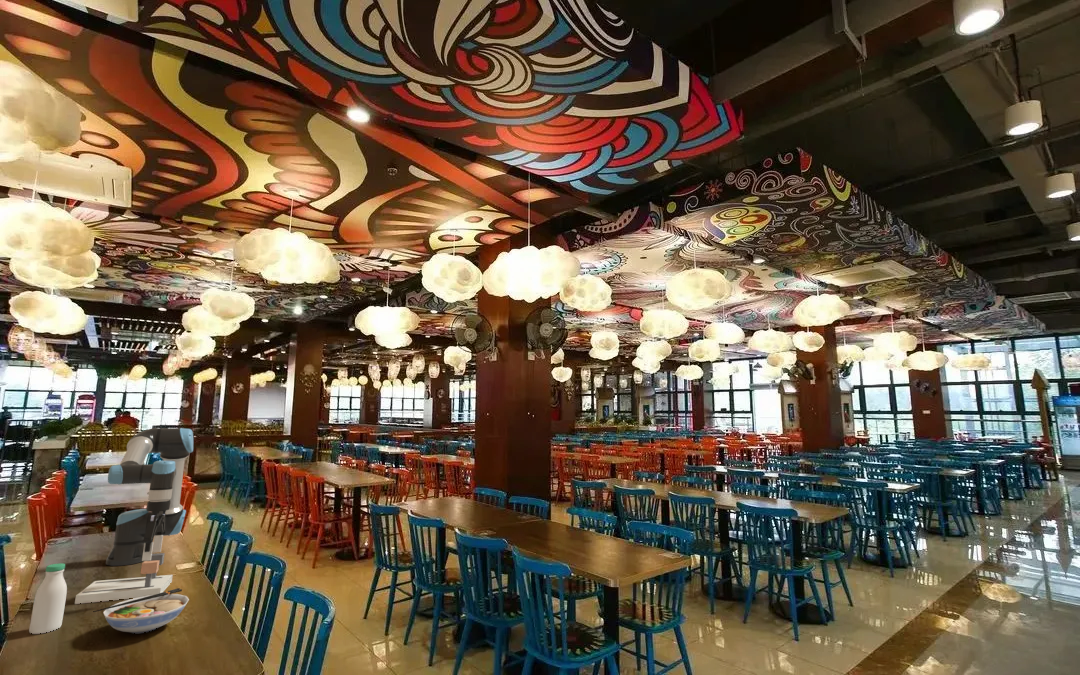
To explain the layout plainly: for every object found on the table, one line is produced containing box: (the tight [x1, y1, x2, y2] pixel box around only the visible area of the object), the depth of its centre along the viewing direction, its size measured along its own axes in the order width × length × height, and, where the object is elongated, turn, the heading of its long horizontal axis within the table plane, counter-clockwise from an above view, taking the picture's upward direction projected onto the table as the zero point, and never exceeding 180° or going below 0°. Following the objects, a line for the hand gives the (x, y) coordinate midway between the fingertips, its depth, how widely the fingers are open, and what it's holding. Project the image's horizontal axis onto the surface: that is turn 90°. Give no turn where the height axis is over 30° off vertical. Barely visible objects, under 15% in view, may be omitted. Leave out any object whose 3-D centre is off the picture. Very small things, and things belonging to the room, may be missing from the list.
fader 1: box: [149, 552, 166, 578], centre depth 210 cm, size 3×5×9 cm, turn 114°
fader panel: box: [74, 574, 173, 605], centre depth 201 cm, size 18×26×3 cm
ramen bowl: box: [92, 588, 190, 634], centre depth 168 cm, size 25×23×8 cm
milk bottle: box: [28, 562, 68, 635], centre depth 167 cm, size 8×8×20 cm
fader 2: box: [140, 560, 160, 587], centre depth 200 cm, size 3×5×9 cm, turn 114°
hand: (151, 556), depth 201 cm, fingers open, 13 cm apart
